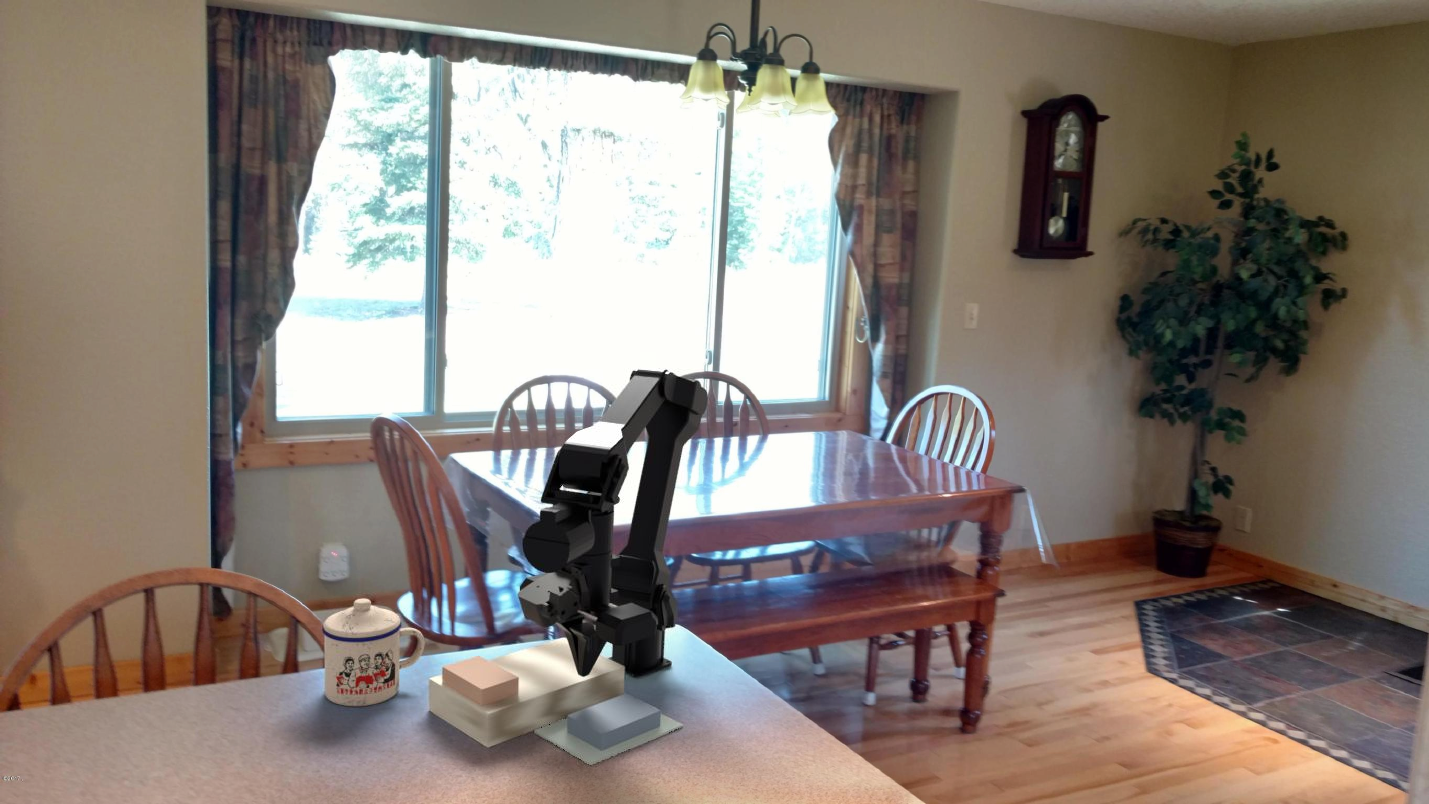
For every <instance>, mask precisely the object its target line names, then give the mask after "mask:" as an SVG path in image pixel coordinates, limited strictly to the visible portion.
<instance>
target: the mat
mask: <svg viewBox="0 0 1429 804" xmlns="http://www.w3.org/2000/svg"><path fill="white" fill-rule="evenodd" d="M681 727H682V728H683V727H684V724H682V723H681V722H678V721H676V720H675V719H673V718H670V717H668V716H667V715H664V714H663V713H661V720H660V727H658V728H655V729H653V730H651V731H648V732H646V733H643V734H641V735H639V736H636V737H634V738H631V739H629V740H627V741H624V742H622V743H620V744H617V745H615V746H612V747H610V748H608V749H605V750H603V751H600V750H599V749H597V748H595V747H593V746H591V745H590V744H588V743H586V742H584V741H583V740H581V739H579V738H577V737H575V736H574V735H572V734H570V733H568V732H567V718H566V719H563V720H560V721H558V722H555V723H552V724H550V725H547V726H544V727H542V728H539V729H536V730H534V734H536V735H538V736H539V737H541V738H542V739H544V740H546V741H547V740H548V741H547V742H549V741H550V742H549V743H551V742H552V743H553V744H552V743H551V744H552V745H554V746H556V745H557V746H558V748H559V747H560V748H559V749H561V750H563V749H564V750H565V751H564V750H563V751H564V752H566V751H567V752H566V753H568V752H569V753H570V754H569V753H568V754H569V755H571V756H573V757H574V756H575V757H574V758H576V757H577V758H576V759H578V758H579V759H581V760H582V761H581V760H580V761H581V762H583V761H584V762H583V763H584V764H586V763H588V764H589V765H588V764H587V765H588V766H590V765H592V764H594V765H596V764H595V763H597V762H599V763H601V762H603V761H602V760H604V761H606V760H608V759H611V758H612V757H611V756H613V757H615V756H618V755H619V754H618V753H620V754H622V753H621V752H623V753H625V752H626V751H625V750H627V751H629V750H628V749H630V750H632V749H634V748H636V747H639V746H642V745H644V744H646V743H649V742H650V741H653V740H655V739H657V738H661V737H662V736H665V735H668V734H670V733H671V731H672V732H674V730H675V729H677V730H679V729H681ZM678 728H679V729H678ZM675 731H676V730H675ZM669 732H670V733H669ZM648 741H649V742H648ZM557 746H556V747H557ZM624 751H625V752H624ZM617 754H618V755H617ZM610 757H611V758H610ZM607 758H608V759H607ZM579 759H578V760H579ZM605 759H606V760H605ZM597 764H598V763H597ZM592 766H593V765H592Z"/></svg>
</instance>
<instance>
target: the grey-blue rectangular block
mask: <svg viewBox="0 0 1429 804" xmlns="http://www.w3.org/2000/svg"><path fill="white" fill-rule="evenodd" d="M661 714H662V710H661V709H659V708H657V707H655V706H653V705H651V704H649V703H647V702H644V701H643V700H641V699H638V697H635V696H633V695H630V694H629V693H627V692H626V693H624V694H623V695H620V696H618V697H615V698H612V699H610V700H607V701H604V702H602V703H599V704H596V705H594V706H591V707H589V708H586V709H583V710H581V711H578V712H575V713H573V714H570V715H568V717H567V732H568V733H570V734H572V735H574V736H575V737H577V738H579V739H581V740H583V741H584V742H586V743H588V744H590V745H591V746H593V747H595V748H597V749H599V750H600V751H603V750H605V749H608V748H610V747H612V746H615V745H617V744H620V743H622V742H624V741H627V740H629V739H631V738H634V737H636V736H639V735H641V734H643V733H646V732H648V731H651V730H653V729H655V728H658V727H660V720H661Z"/></svg>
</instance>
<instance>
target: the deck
mask: <svg viewBox="0 0 1429 804" xmlns="http://www.w3.org/2000/svg"><path fill="white" fill-rule="evenodd" d="M608 658H609V657H605V656H604V655H601V654H600V655H599V657H598V659H597V661H596V663H595V665H594V666H593V668H592V670H591V672H590V674H589V675H588V676H585V677H582V676H580V675H578V673H577V670H576V666H575V663H574V660H573V656H572V653H571V650H570V647H569V643H568V641H567V638H566V637H561V638H557V639H555V640H551V641H546V642H545V643H541V644H537V645H534V646H531V647H528V648H524V649H521V650H517V651H515V652H511V653H509V654H508V653H507V654H505V655H502V656H498V657H495V658H492V659H489V660H488V659H487V660H488V661H489V662H491V663H493V664H495V665H497V666H499V667H501V668H502V669H504V670H506V671H508V672H510V673H512V674H513V675H515V676H517V677H519V689H518V694H516V695H513V696H510V697H507V698H505V699H502V700H499V701H496V702H493V703H490V704H487V705H484V706H480V705H479V704H477V703H475V702H474V701H472V700H470V699H469V698H467V697H465V696H464V695H462V694H460V693H458V692H457V691H455V690H453V689H452V688H450V687H448V686H447V685H445V684H443V683H442V674H438V675H435V676H433V677H430V678H428V711H430V712H431V713H432V714H434V715H435V716H436V717H438V718H440V719H442V720H444V721H445V722H446V723H448V724H450V725H451V726H453V727H454V728H456V729H458V730H459V731H461V732H462V733H464V734H466V735H467V736H469V737H470V738H471V739H473V740H475V741H477V742H478V743H480V744H481V745H482V746H484V747H486V748H490V747H494V746H495V745H499V744H501V743H504V742H506V741H509V740H512V739H515V738H517V737H519V736H520V737H521V736H523V735H526V734H528V733H530V732H533V731H534V730H537V729H539V728H541V727H545V726H547V725H549V724H553V723H555V722H558V721H559V720H560V721H561V720H562V719H565V718H567V717H568V715H570V714H573V713H575V712H578V711H581V710H583V709H586V708H589V707H591V706H594V705H596V704H599V703H602V702H604V701H607V700H610V699H612V698H615V697H618V696H620V695H623V694H625V689H624V688H625V672H624V671H625V666H623V665H620V664H618V663H616V662H614V661H612V660H610V659H608Z"/></svg>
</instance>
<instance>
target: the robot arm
mask: <svg viewBox="0 0 1429 804" xmlns="http://www.w3.org/2000/svg"><path fill="white" fill-rule="evenodd" d="M708 398H709V396H708V392H707V389H706V388H704V387H703V386H702V383H701V381H699V380H698V379H691V378H685V377H681V376H678V375H676V373H674V372H672V371H669V370H668V369H663V368H662V369H661V368H654V367H653V368H652V367H644V366H639V368H634V369H633V370H632V371H631V373H630V377H629V381H628V383H627V384H626V385H625V387H624V388H623V389H622V391H620V392H619V395H617V397H616V398H615V399H614V401H613V402H612V404H611V405H610V406H609V407H608V409H607V410H606V411H605V412H604V413H603V415H601V416H602V417H601V418H600V419H599V420H598V422H596V423H595V424H594V425H592V426H590V427H586V428H583V429H581V430H578V431H576V432H575V433H574V434H573V435H572V436H570V437H569V438H568V439H567V440H566V441H565V442H564V443H563V444H562V446H561V447H560V449H559V450H558V451H557V453H556V455H555V457H554V460H553V463H552V465H551V469H550V472H549V475H548V477H547V480H546V483H545V486H544V489H543V492H542V495H541V497H540V503H542V504H546V505H547V504H548V505H551V506H550V507H546V506H545V507H543V508H542V509H541V510H540V511H539V520H538V521H535V522H534V523H532V524H531V525H530V526H529V527H528V528H527V529H526V531H525V533H524V536H523V538H522V543H521V545H522V551H523V554H524V557H525V559H526V560H527V563H529V565H530V566H531V567H533V568H534V569H535V570H537V571H539V572H541V573H540V574H536V575H531V576H527V577H525V579H524V580H523V582H521V584H520V585H519V591H518V593H517V598H518V601H519V604H520V607H521V611H522V613H523V616H524V619H525V620H526V621H532V622H534V623H535V624H537V625H538V626H539V627H542V628H549V627H552V626H554V625H556V626H558V628H560V629H562V631H563V632H564V635H565V638H566V639H567V641H568V643H569V647H570V650H571V653H572V656H573V660H574V663H575V666H576V670H577V673H578V675H580V676H582V677H585V676H588V675H589V674H590V672H591V670H592V668H593V666H594V665H595V663H596V661H597V659H598V657H599V655H601V653H602V651H603V650H604V649H605V646H606V644H607V643H609V644H611V645H612V647H611V649H612V650H611V656H610V657H607V658H608V659H610V660H612V661H614V662H616V663H618V664H620V665H623V666H625V671H624V673H625V674H628V675H630V676H632V677H634V678H641V677H643V676H647V675H649V674H653V673H654V672H657V671H658V672H659V671H661V670H663V669H665V668H668V667H671V666H672V663H673V662H672V660H669V659H668V658H665V641H666V640H665V639H666V638H665V637H666V635H665V634H666V630H667V629H670V628H671V629H672V628H675V627H676V621H677V616H678V614H679V612H678V611H679V610H678V609H679V603H678V601H677V599H676V597H675V595H674V593H673V591H672V589H671V588H670V580H671V572H670V569H669V566H668V563H667V560H666V558H665V556H664V552H663V551H664V547H665V542H666V541H665V540H666V536H667V529H668V525H669V520H670V516H671V510H672V505H673V499H674V495H675V490H676V485H677V480H678V474H679V471H680V470H679V468H680V464H681V459H682V455H683V454H682V453H683V449H684V446H685V445H686V444H687V443H688V442H689V440H690V439H692V437H693V436H694V435H695V434H696V433H697V432H698V430H699V429H700V425H701V423H702V422H701V421H702V418H703V415H704V414H706V410H707V407H708V401H709V400H708ZM644 430H645V431H646V434H647V436H648V439H647V445H646V450H645V455H644V458H643V459H644V460H643V463H642V469H641V474H640V478H639V484H638V488H637V493H636V498H635V504H634V509H633V513H632V519H631V522H630V523H631V524H630V527H629V532H628V533H629V534H628V536H627V537H628V538H627V543H626V545H625V546H624V547H622V549H621V550H620V551H619V552H618V554H615V553H613V549H614V525H615V524H614V523H615V522H614V521H615V506H616V505H617V504H619V503H620V501H621V499H620V496H619V494H620V493H621V491H622V487H623V485H624V483H625V480H626V479H627V475H628V473H629V470H630V466H629V458H628V454H629V452H630V450H631V448H632V447H633V445H634V444H635V442H636V441H637V440H638V438H639V436H640V435H641V434H642V432H643V431H644ZM562 487H563V488H564V489H565V490H564V489H561V488H562ZM566 489H568V490H566ZM572 490H574V491H572ZM578 491H581V492H578ZM585 492H586V493H585Z"/></svg>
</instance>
